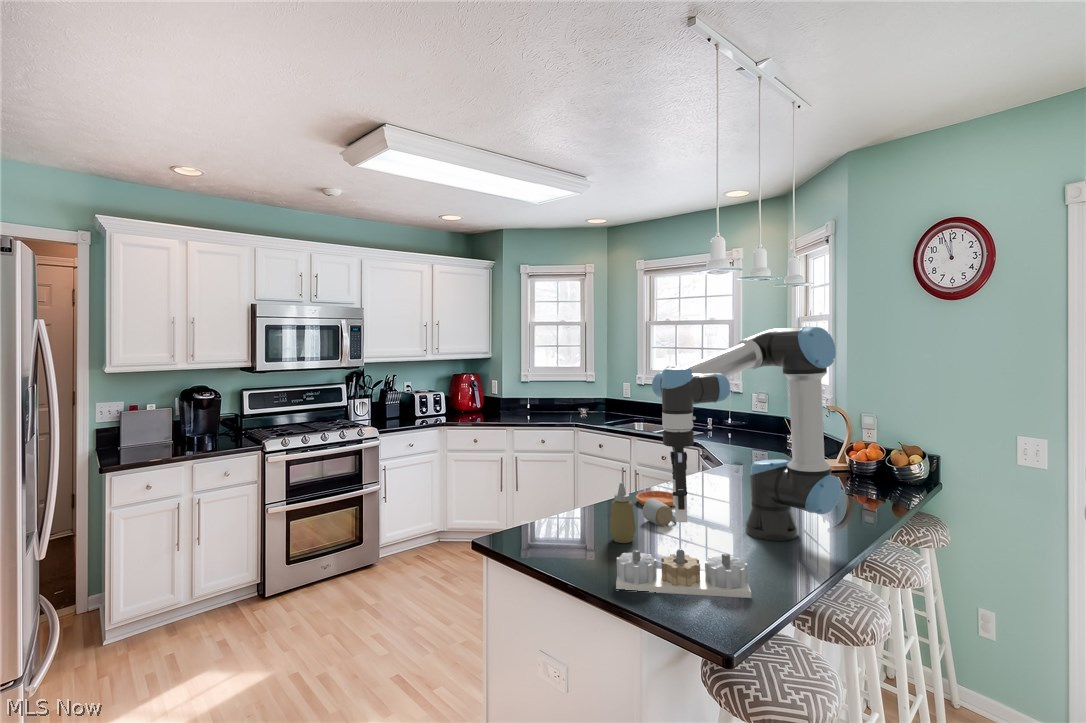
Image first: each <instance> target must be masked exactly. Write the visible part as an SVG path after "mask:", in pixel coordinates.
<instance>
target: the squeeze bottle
mask: <svg viewBox="0 0 1086 723" xmlns="http://www.w3.org/2000/svg"><path fill="white" fill-rule="evenodd" d="M633 505H634V504H633V502H632V501H631V500H630V494H629V493H627V491H626V487H625V483H624V482H619V485H618V490H617V492H616V493H615V494H614V500H613V501H612V502H611V509H610V510H611V511H610V521H609V522H610V523H609V532H610V534H611V536H612V541H613V542H615V543H619V544H630V543H632V541H633V539H634V537H635V533H636V528H637V527H636V521H635V513H634V506H633Z"/></svg>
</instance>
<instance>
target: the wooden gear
mask: <svg viewBox="0 0 1086 723" xmlns="http://www.w3.org/2000/svg"><path fill="white" fill-rule="evenodd" d="M660 561H661V569H662V580H663V581H664V582H666V581H667V582H669V583H671V584H672V585H673V586H677V585H683V586H687V587H690V586H692V584H694V583H698V584H699V583H700V571H701V564H700V559H698V558H697V557H696V558H695V557H692V556H690V555H689V554H685V564H677V560H676V553H672V554H669V555H668V556H662V557H661V559H660Z"/></svg>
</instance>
